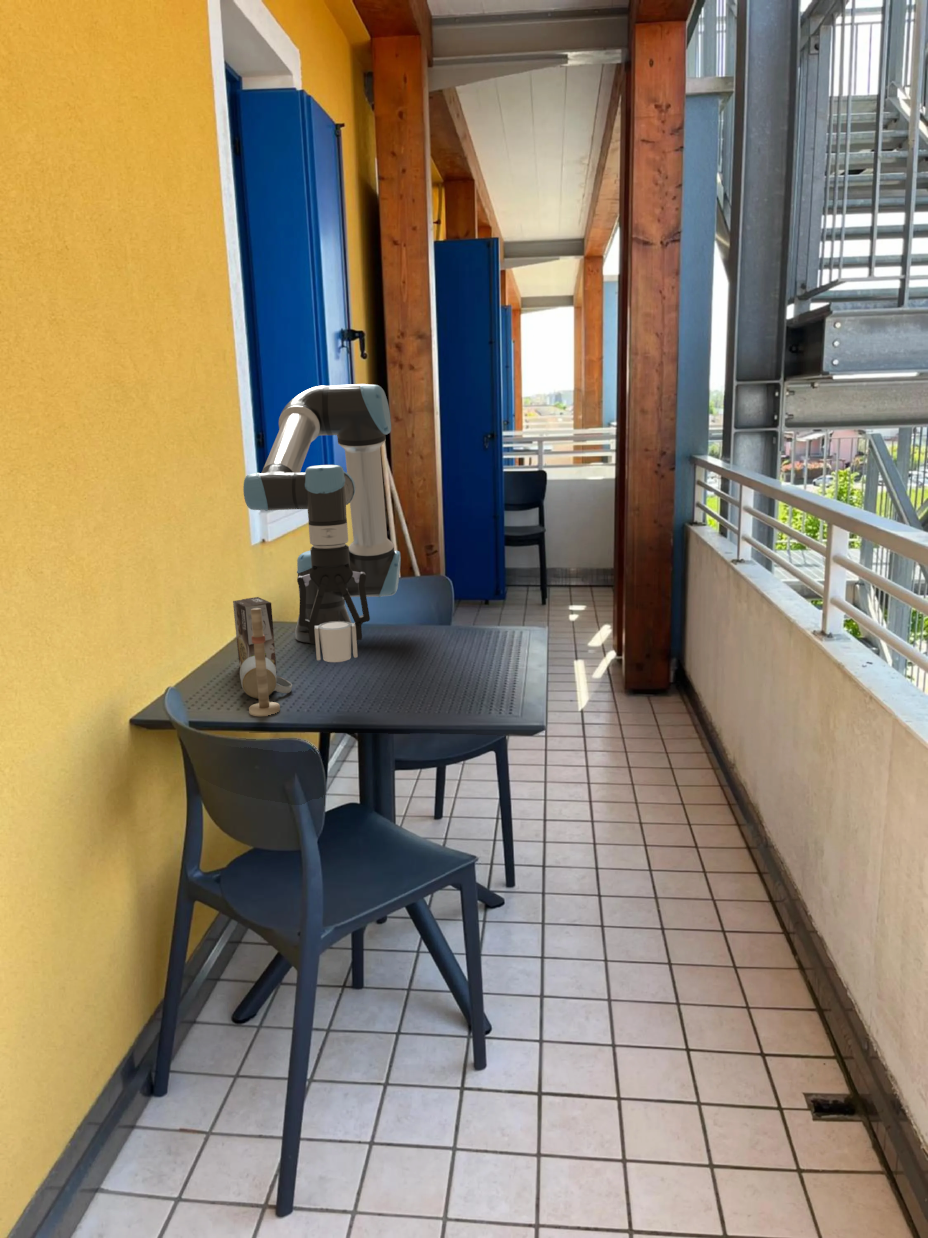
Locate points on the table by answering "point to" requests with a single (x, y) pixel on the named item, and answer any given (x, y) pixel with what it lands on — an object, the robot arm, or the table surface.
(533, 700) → the table surface
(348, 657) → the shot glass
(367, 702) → the table surface
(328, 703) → the table surface
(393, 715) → the table surface
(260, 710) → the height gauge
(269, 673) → the ceramic mug
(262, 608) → the coffee box
